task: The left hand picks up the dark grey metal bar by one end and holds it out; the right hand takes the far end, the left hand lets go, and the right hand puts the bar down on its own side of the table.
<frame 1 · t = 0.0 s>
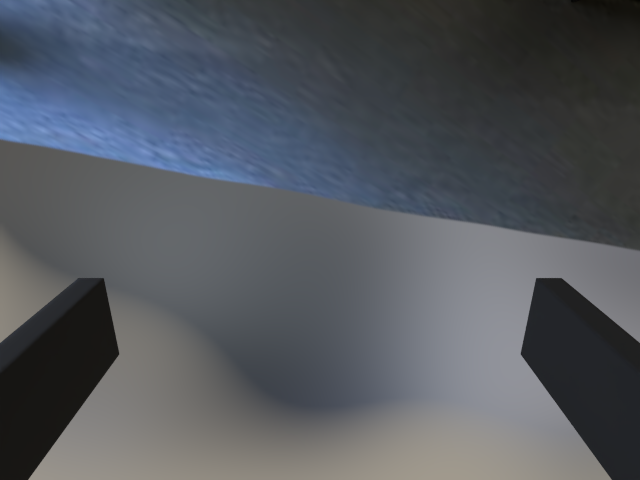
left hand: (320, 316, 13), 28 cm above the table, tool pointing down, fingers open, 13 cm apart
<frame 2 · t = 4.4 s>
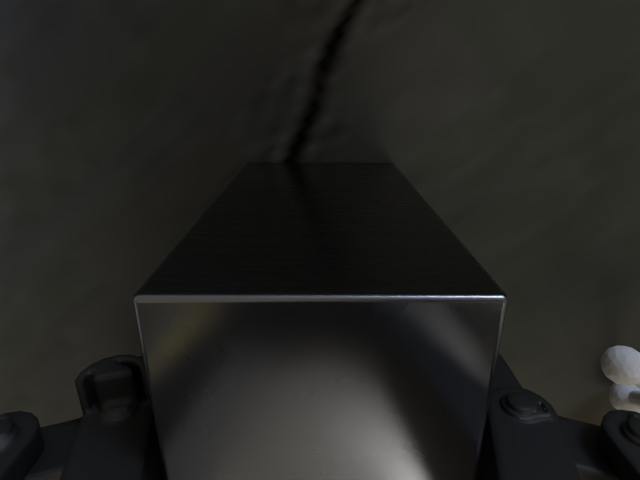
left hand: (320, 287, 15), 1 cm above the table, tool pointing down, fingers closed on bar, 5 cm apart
bar: (320, 437, 18), on the table, touching left hand
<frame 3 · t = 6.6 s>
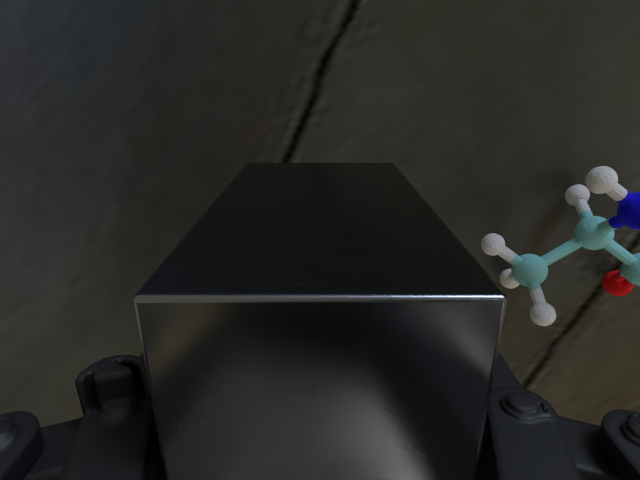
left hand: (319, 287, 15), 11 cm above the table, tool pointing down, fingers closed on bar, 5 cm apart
bar: (320, 437, 18), point 10 cm above the table, touching left hand
molecular model: (566, 225, 26), on the table
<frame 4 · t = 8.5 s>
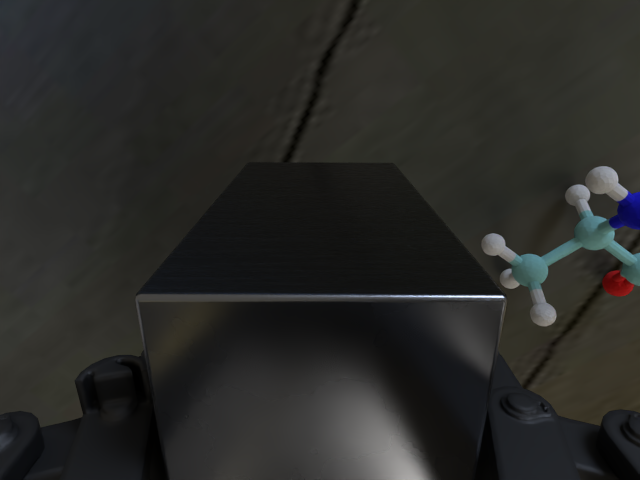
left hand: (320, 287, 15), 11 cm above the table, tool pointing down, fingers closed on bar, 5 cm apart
bar: (319, 437, 18), point 10 cm above the table, touching left hand, right hand
molecular model: (566, 225, 26), on the table
when the left hand's fingers open (11 cm above the table, at t = 9.2 s): bar stays where it is, held by the right hand.
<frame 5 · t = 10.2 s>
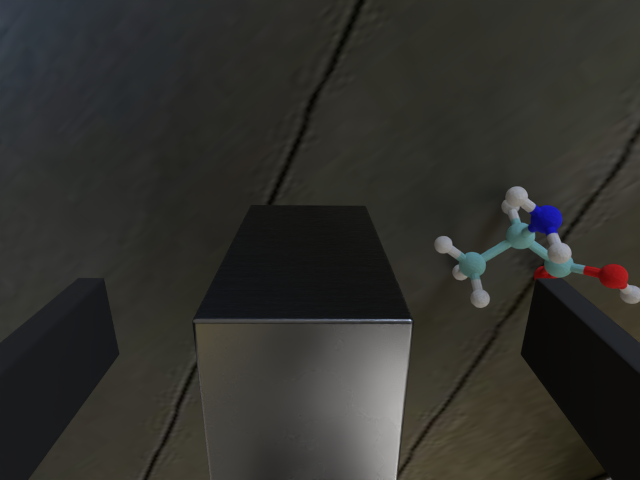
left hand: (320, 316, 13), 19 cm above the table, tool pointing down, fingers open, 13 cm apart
bar: (307, 425, 22), point 13 cm above the table, touching right hand
molecular model: (504, 230, 32), on the table
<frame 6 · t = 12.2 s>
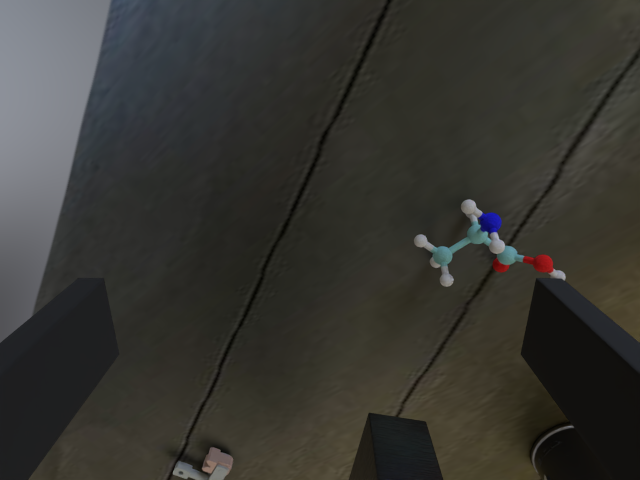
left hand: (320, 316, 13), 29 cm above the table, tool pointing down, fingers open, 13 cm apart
molecular model: (469, 229, 43), on the table
when the right hand's fingers open (6 cm above the table, at t = 16.3 s): bar drops 2 cm, on the table.
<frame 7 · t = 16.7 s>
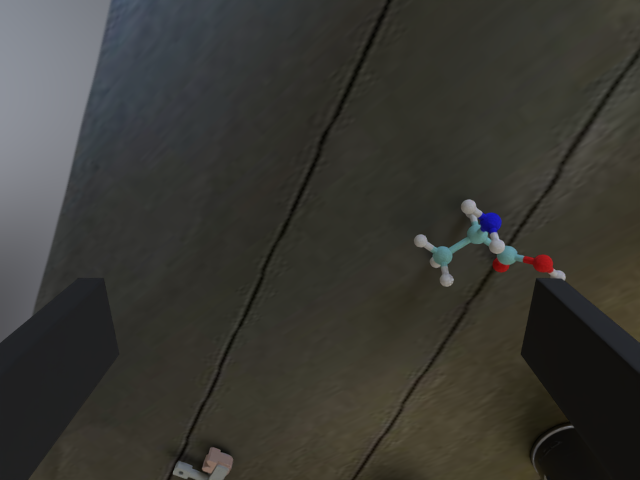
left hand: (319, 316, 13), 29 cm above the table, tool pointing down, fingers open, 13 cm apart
molecular model: (469, 229, 43), on the table
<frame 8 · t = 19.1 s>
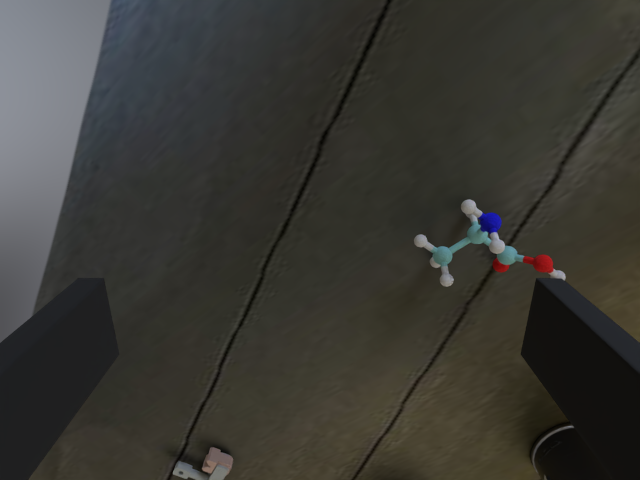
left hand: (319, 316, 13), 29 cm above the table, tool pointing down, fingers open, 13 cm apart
molecular model: (469, 229, 43), on the table
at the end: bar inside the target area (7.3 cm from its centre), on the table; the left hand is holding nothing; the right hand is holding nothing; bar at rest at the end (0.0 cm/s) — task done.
